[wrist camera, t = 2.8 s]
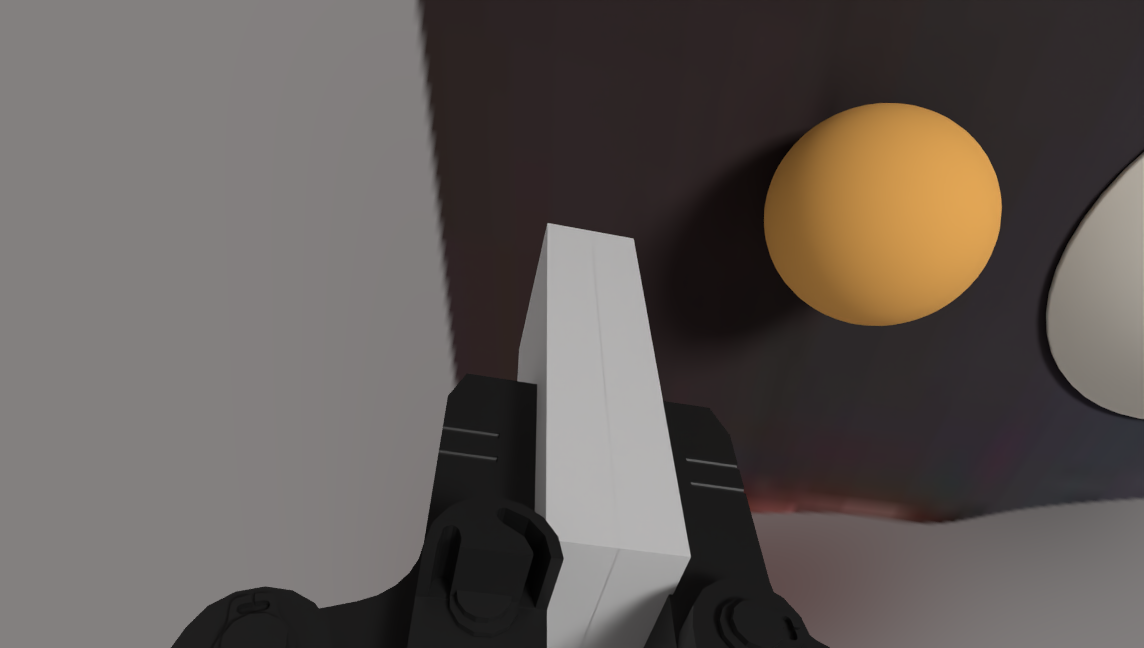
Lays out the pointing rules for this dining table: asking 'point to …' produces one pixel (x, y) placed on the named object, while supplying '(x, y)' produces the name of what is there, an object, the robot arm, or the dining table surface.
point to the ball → (882, 214)
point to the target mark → (1104, 299)
